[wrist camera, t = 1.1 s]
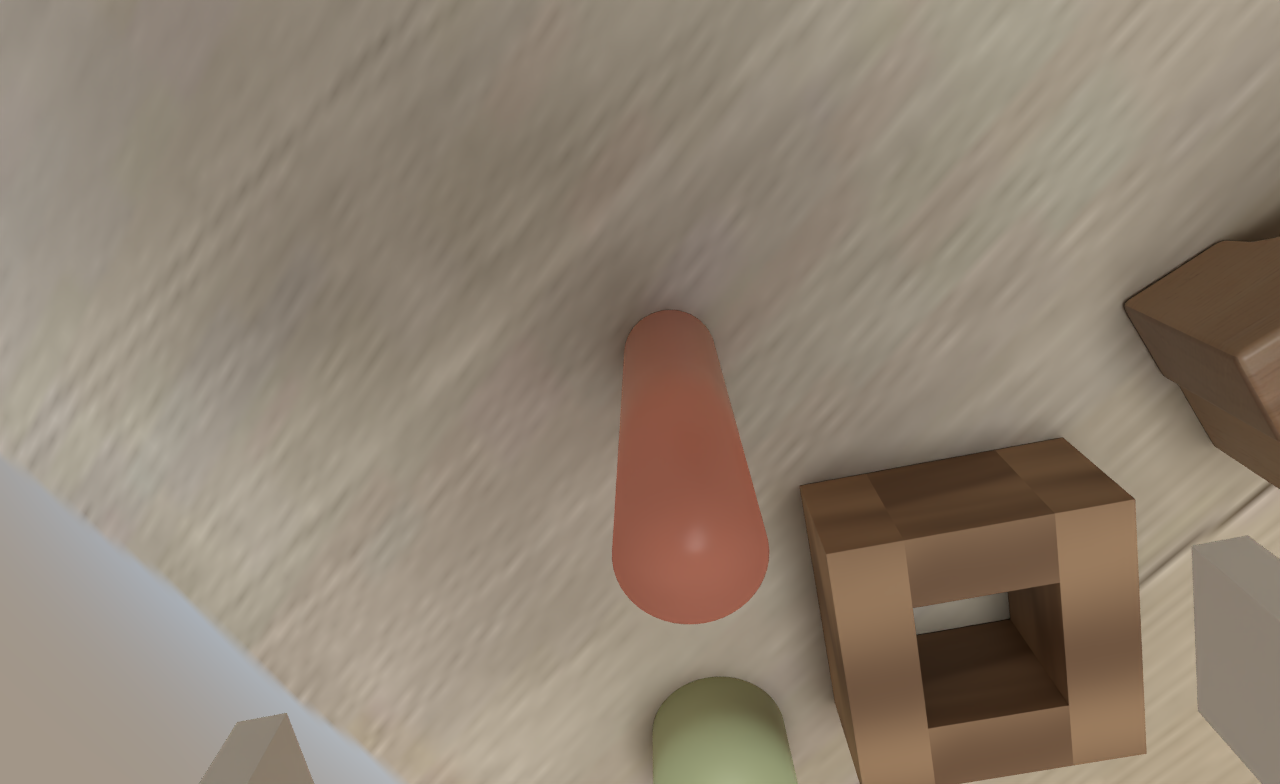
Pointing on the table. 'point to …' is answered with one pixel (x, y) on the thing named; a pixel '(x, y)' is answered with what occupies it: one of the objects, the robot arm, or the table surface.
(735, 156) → the table surface
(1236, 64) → the table surface
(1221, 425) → the wooden toy
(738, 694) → the olive green rounded piece
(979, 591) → the square wooden frame
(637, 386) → the pink capsule rod
